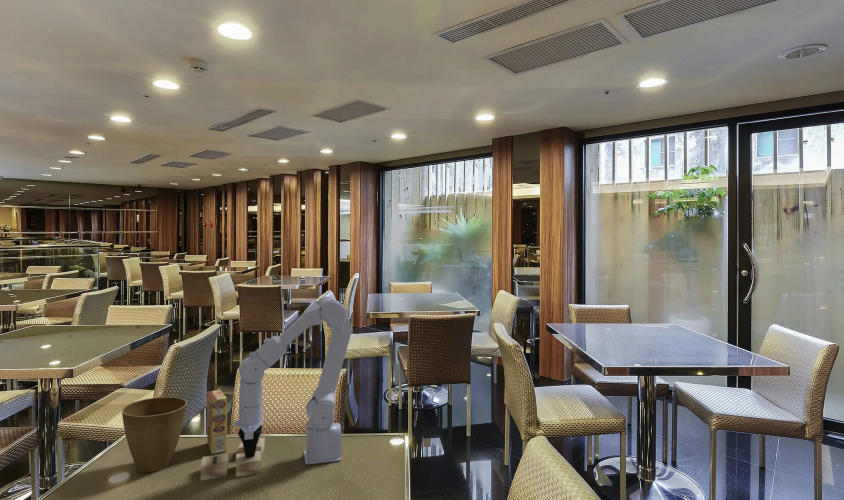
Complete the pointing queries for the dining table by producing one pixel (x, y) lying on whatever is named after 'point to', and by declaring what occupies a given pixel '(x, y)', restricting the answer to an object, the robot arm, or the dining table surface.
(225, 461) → the numbered block one
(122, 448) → the dining table surface
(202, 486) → the dining table surface
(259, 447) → the numbered block eleven
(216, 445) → the candy box
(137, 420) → the plant pot
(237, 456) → the plain block
